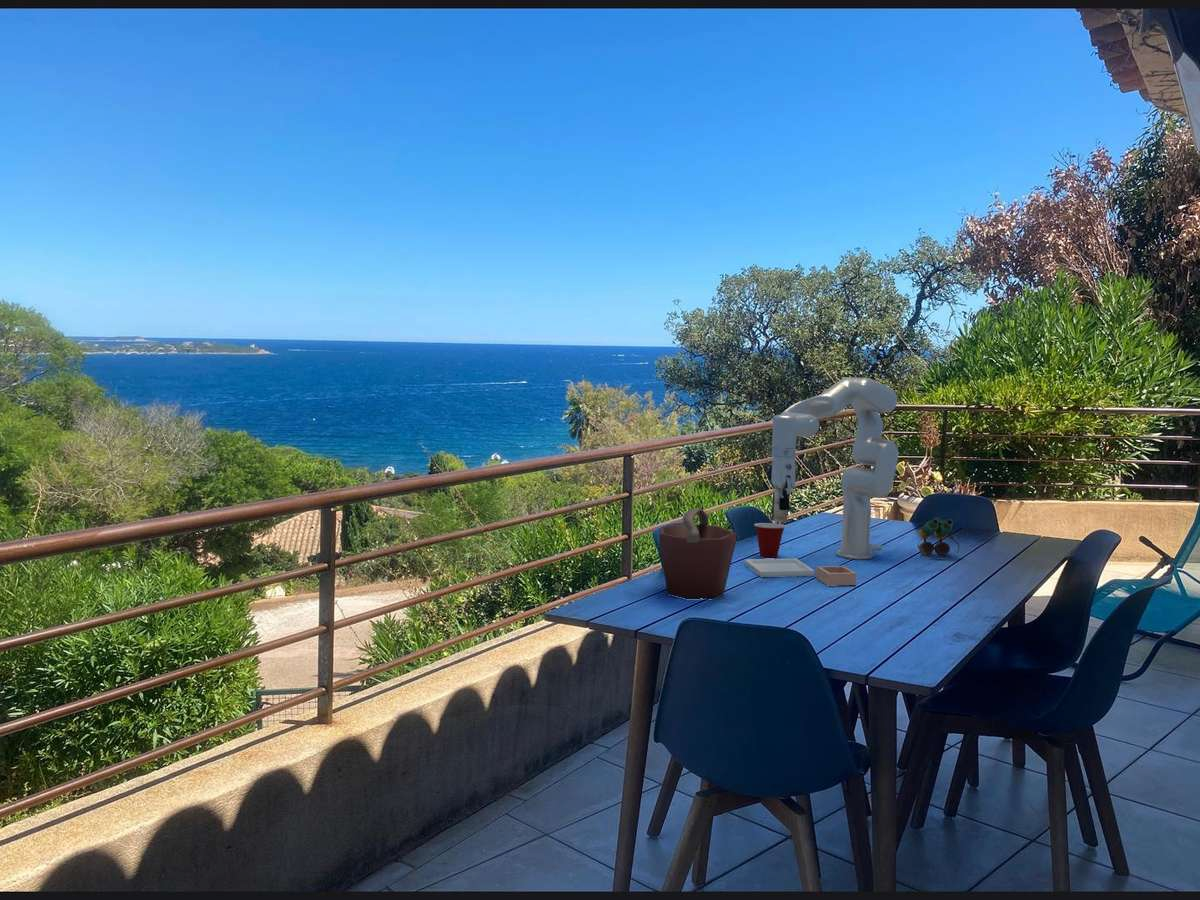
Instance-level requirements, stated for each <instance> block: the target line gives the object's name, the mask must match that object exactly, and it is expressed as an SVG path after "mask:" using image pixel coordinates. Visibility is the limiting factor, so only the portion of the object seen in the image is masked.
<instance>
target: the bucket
mask: <svg viewBox="0 0 1200 900" xmlns="http://www.w3.org/2000/svg"><path fill="white" fill-rule="evenodd" d="M696 516H697V517H698V521H699V522H698V523H699V524H697V523H695V517H696ZM682 521H683V523H680V524H673V525H672V524H671V525H663V526H660V530H659V548H660V549H659V550H660V556H661V562H662V568H663V574H664V580H665V587H666V594H667V595H668V594H670V595H674V596H678V597H682V598H685V599H700V598H703V599H705V598H706V599H714V598H716V597H718V596H720V595H722V594H723V593H724V594H725V590H726V586H727V581H728V577H729V574H730V573H729V572H730V568H731V565H732V561H733V557H734V556H733V555H734V552H735V548H736V544H737V543H736V542H737V541H736V540H737V532H735V531H732V530H730V529H727V528H725V527H723V526H721V525H713V524H712V525H710V524H709V517H708V514H707V513H706V512H705V511H704V509H702V508H689V509H688V510H686V512H685V513H684V514H683V517H682ZM724 594H723V595H724ZM723 595H722V596H723ZM720 597H721V596H720ZM718 598H719V597H718ZM716 599H717V598H716Z"/></svg>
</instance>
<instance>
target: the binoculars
mask: <svg viewBox="0 0 1200 900" xmlns="http://www.w3.org/2000/svg"><path fill="white" fill-rule="evenodd" d="M953 524H954V521H953V519H951V518H949V519H946V520H942V519H941V518H939V517H935V518H932V520H928V521H927V522H926V523H925V524H923V526H922V527H921V529H920V530H919V531H918V535H919V537H920V539H919V540H918V542H917V548H918V550H919V552H920V553H921V554H922V555H923V556H925V557H927V558H929V559H931V560H936V561H946V560H951V559H952V558H954V557H956V555H958V553H959V551H960V543H959V542H958V541H957V540H956V539H955V538H954V535H953V534H952V531H951V530H952V529H953ZM933 535H934V537H935V538H936V539H937V540H939V543H938V542H937V543H936V544H933V543H932V542H930V541H927V539H929V538H930V536H933ZM947 536H948V537H949V539H950V540H952V541H954V543H956V544H957V546H958V550H957V551H956V553H955V554H954V555H953V556H951V557H948V558H935V557H932V556H930V555H931V554H932V553H934V552H935V554H937V555H938V556H940V557H944V556H946V555H948V554H949V553H950V551H951V546H950V545H949V544H948V543H947V542H944V541H943V539H945V538H946V537H947ZM921 540H923V542H922V543H920V541H921ZM942 541H943V542H942Z"/></svg>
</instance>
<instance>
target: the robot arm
mask: <svg viewBox="0 0 1200 900" xmlns="http://www.w3.org/2000/svg"><path fill="white" fill-rule="evenodd" d="M897 404H898V395H897V393H896V391H895V389H893V388H891V387H890V386H887V385H885V384H883V383H881V382H880V381H877V380H875V379H872V378H868V377H844V378H841V379H839V380H838V381H837V382H835V383H834V384H833V385H831V386H830V387H828V388H827V389H826V390H825V391H823V392H822V393H820V394H818V395H815V396H812V397H809V398H807V399H804V400H802V401H801V400H800V401H798V402H796V403H794V404H792V405H790V406H789V407H787V409H784V411H782V412H781V414H776V415H774V416H773V418H772V437H771V438H772V440H771V441H772V442H771V458H772V464H771V484H772V486H773V499H774V498H775V485H777V487H779V488H780V490H781V498H780V500H779V510H788V511H789V510H790V498H791V493H792V491H793V490H794V489H795V488H796V461H795V458H796V449H797V447H796V445H797V437H800V438H801V437H803V438H809V437H813V436H814V435H816V434H817V433H818V431H819V429H820V421H819V420H821V419H827V418H830V417H834V416H836V415H837V414H838V413H840V412H841V411H843V410H844V409H845V408H846V407H848V406H849V405H851V407H852V409H853V410H854V413H855V415H856V416H857V429H856V434H855V437H854V444H853V446H852V452H851V453H852V454H851V456H852V459H853V461H854V462H855V463H858V464H862V465H866V466H873V467H874V466H875V469H871V468H865V467H858V466H856V467H855V466H854V467H853V466H852V467H848V468H847V469H845V470H844V471H843V473H842V476H841V480H840V481H841V489H842V497H843V499H842V500H843V501H842V502H843V503H842V505H843V508H842V523H841V524H842V526H841V545H840V546H841V547H840V548H838V549H837V550H836V552H835V553H836V555H837V556H839V557H841V558H845V559H852V560H869V559H872V558H873V557H874V553H873V552H874V551H878V552H880V551H883V545H881V544H879V545H878V544H877V545H876V544H873V543H870V539H871V538H870V536H871V521H872V520H871V518H872V505H871V501H870V498H877V499H883V498H886V497H887V496H888V495H889V494H890V492H891V489H892V487H893V484H894V483H893V482H894V479H895V474H896V470H897V465H898V460H899V450H898V447H897V444H896V443H895V442H894V441H892V440H889V439H883V438H882V436H883V435H882V434H883V432H884V431H883V429H884V423H883V420H882V418H881V415H880V413H891V412H892V411H894V409H895V408H896V407H897ZM784 486H786V487H787V488H783V487H784ZM783 490H786V491H784V493H783ZM869 497H870V498H869Z"/></svg>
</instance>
